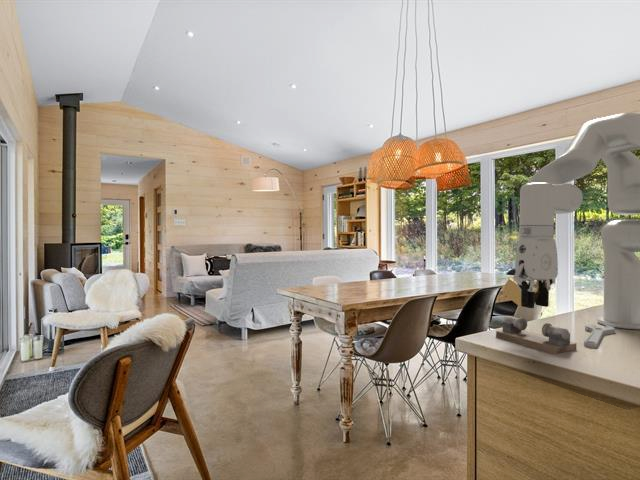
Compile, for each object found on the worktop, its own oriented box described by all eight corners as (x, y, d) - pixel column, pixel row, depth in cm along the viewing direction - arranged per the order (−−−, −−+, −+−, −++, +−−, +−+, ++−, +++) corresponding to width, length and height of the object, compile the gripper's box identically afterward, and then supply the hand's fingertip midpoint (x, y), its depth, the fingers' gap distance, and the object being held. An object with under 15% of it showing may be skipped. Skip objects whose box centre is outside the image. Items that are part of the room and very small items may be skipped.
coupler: (540, 291, 101) (518, 276, 107) (528, 292, 99) (506, 276, 105) (533, 306, 103) (511, 290, 109) (521, 307, 101) (499, 291, 107)
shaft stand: (517, 333, 109) (517, 313, 109) (576, 349, 95) (576, 325, 95) (496, 336, 106) (496, 315, 106) (553, 353, 91) (554, 329, 91)
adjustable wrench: (596, 351, 96) (596, 343, 96) (565, 345, 100) (565, 338, 100) (616, 332, 113) (616, 326, 113) (589, 328, 118) (589, 322, 118)
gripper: (526, 233, 93) (524, 311, 93) (573, 233, 100) (571, 306, 100) (499, 232, 100) (497, 306, 100) (544, 233, 107) (543, 302, 107)
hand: (534, 305), depth 100 cm, fingers closed on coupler, 4 cm apart
